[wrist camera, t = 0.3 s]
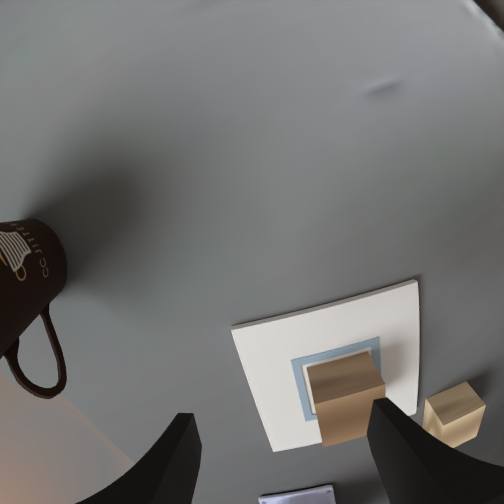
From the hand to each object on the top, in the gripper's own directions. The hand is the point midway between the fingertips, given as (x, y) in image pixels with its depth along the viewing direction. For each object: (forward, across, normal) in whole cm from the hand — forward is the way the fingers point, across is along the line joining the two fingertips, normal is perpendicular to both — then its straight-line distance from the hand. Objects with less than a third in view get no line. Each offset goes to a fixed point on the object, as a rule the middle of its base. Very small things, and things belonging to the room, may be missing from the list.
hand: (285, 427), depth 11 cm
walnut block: (+10, -5, +6) cm, 12 cm away
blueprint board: (+10, -5, +6) cm, 12 cm away
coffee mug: (+10, +17, -4) cm, 20 cm away
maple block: (+10, -16, +12) cm, 22 cm away
